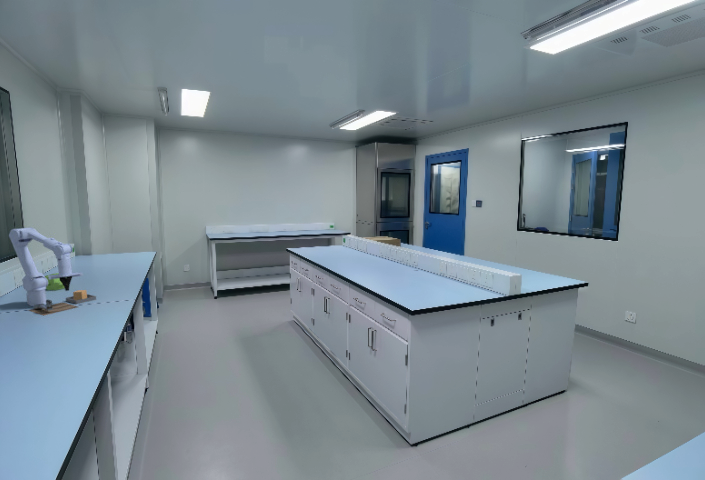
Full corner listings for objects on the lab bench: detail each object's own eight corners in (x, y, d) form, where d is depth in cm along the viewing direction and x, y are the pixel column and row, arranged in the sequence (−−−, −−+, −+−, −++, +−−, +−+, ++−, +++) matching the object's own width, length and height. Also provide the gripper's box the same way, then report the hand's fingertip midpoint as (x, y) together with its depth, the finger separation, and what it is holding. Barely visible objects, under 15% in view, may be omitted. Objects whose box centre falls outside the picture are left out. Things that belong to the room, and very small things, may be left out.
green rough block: (37, 290, 241) (35, 276, 239) (53, 285, 250) (51, 272, 248) (56, 291, 235) (53, 277, 233) (72, 287, 244) (69, 273, 243)
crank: (33, 309, 196) (31, 297, 195) (42, 307, 199) (40, 295, 198) (47, 313, 188) (46, 301, 187) (56, 311, 191) (55, 299, 190)
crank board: (27, 312, 194) (27, 310, 194) (63, 304, 208) (62, 302, 208) (43, 317, 186) (43, 315, 186) (79, 308, 200) (79, 306, 200)
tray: (66, 302, 211) (65, 297, 210) (85, 298, 219) (85, 293, 219) (76, 305, 205) (76, 300, 204) (96, 301, 213) (95, 296, 213)
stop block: (74, 302, 209) (73, 292, 208) (79, 300, 214) (78, 290, 213) (82, 302, 210) (81, 292, 209) (87, 299, 214) (86, 289, 213)
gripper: (46, 269, 193) (49, 294, 195) (80, 265, 201) (83, 289, 202) (48, 266, 199) (51, 291, 201) (81, 263, 206) (84, 287, 208)
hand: (67, 290), depth 202 cm, fingers closed
